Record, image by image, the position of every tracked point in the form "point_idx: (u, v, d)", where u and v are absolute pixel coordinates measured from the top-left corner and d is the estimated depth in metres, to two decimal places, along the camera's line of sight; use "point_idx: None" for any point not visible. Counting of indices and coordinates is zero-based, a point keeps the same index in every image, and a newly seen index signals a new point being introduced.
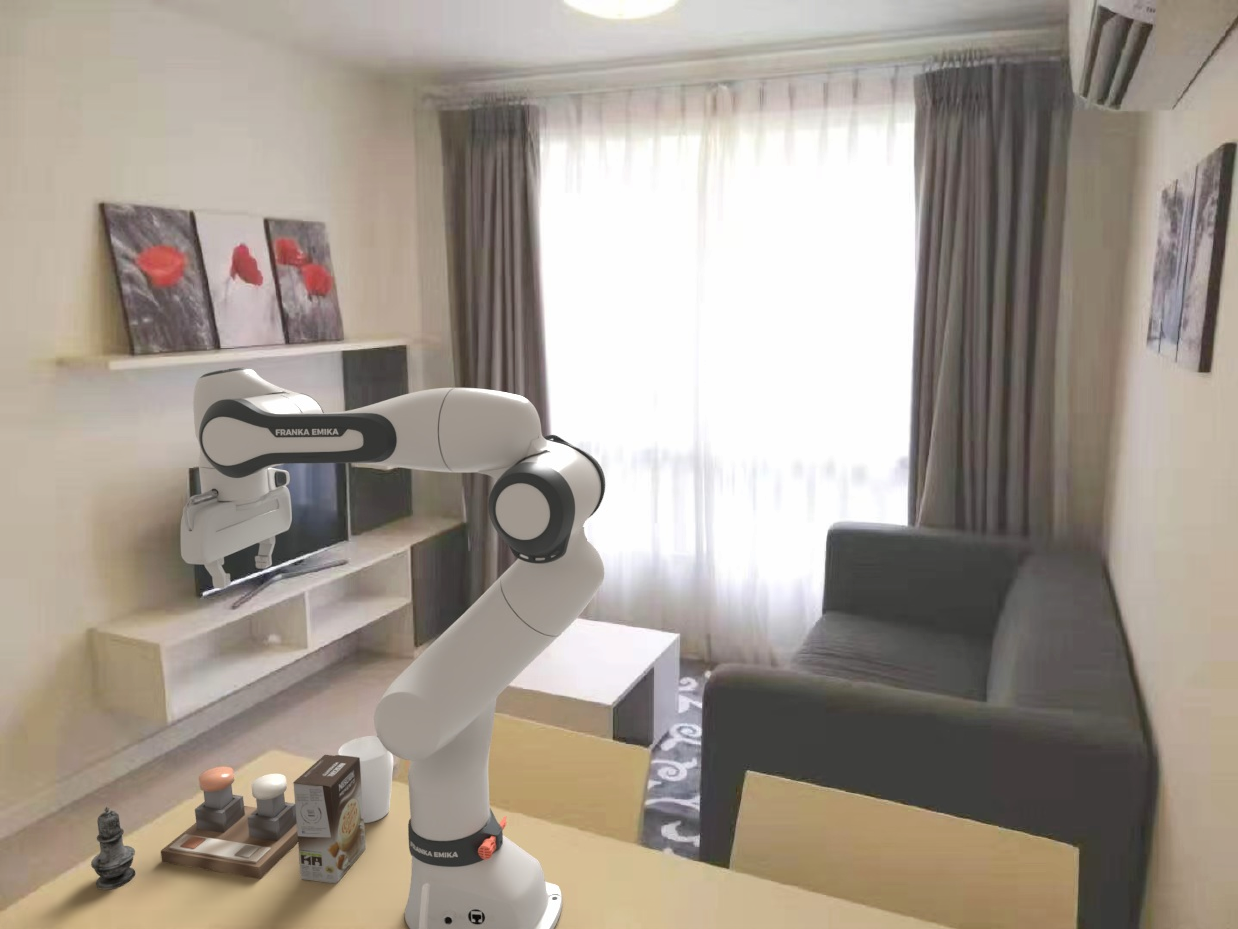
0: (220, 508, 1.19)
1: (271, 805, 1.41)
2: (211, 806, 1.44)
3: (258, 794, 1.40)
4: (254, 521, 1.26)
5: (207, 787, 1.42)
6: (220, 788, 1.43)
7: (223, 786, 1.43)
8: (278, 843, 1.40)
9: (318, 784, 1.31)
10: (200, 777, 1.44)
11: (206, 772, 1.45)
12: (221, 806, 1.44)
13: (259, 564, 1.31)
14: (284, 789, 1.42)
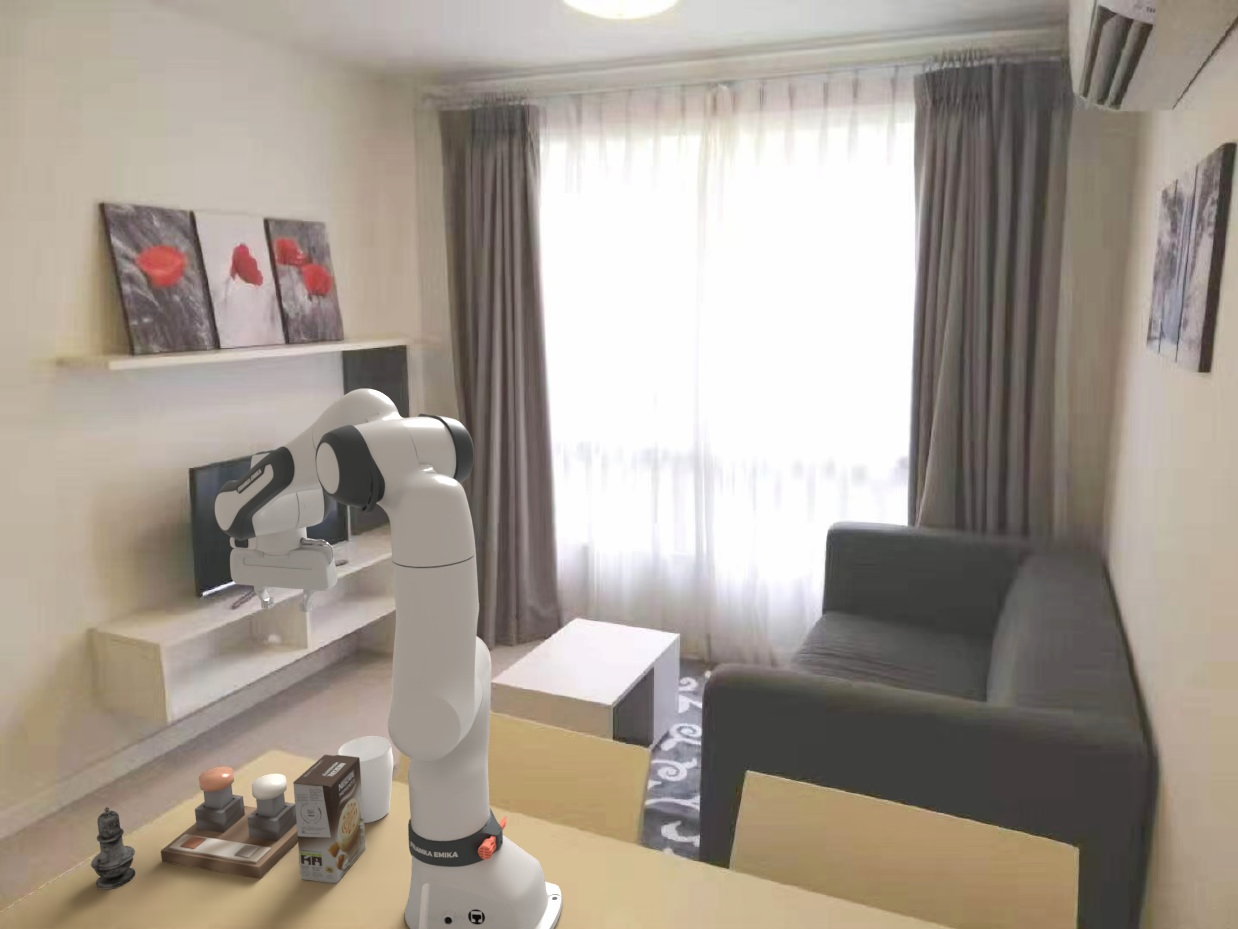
0: None
1: (271, 805, 1.41)
2: (211, 806, 1.44)
3: (258, 794, 1.40)
4: None
5: (207, 787, 1.42)
6: (220, 788, 1.43)
7: (223, 786, 1.43)
8: (278, 843, 1.40)
9: (318, 784, 1.31)
10: (200, 777, 1.44)
11: (206, 772, 1.45)
12: (221, 806, 1.44)
13: (269, 605, 1.62)
14: (284, 789, 1.42)
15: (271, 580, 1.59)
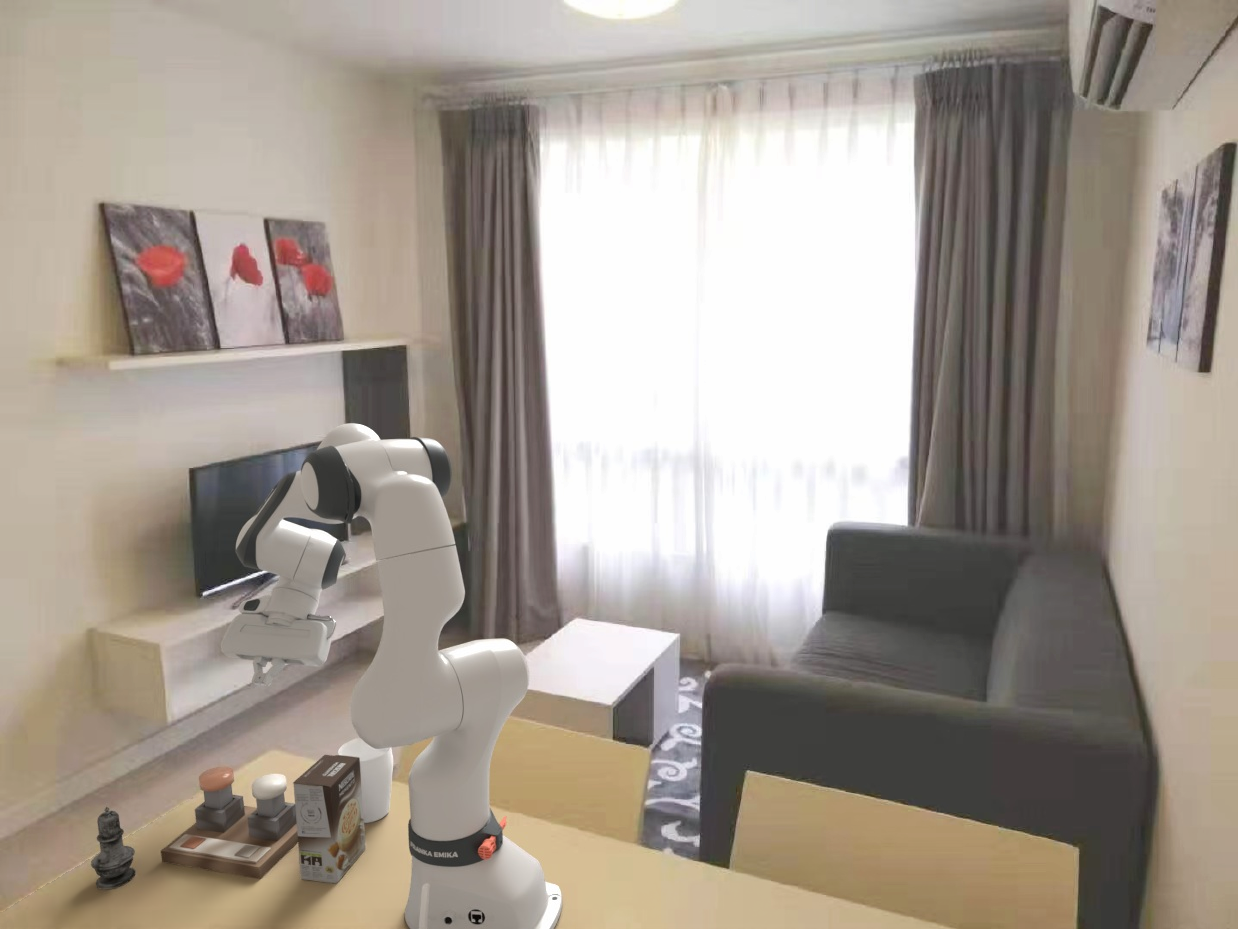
0: None
1: (271, 805, 1.41)
2: (211, 806, 1.44)
3: (258, 794, 1.40)
4: None
5: (207, 787, 1.42)
6: (220, 788, 1.43)
7: (223, 786, 1.43)
8: (278, 843, 1.40)
9: (318, 784, 1.31)
10: (200, 777, 1.44)
11: (206, 772, 1.45)
12: (221, 806, 1.44)
13: None
14: (284, 789, 1.42)
15: (261, 647, 1.57)
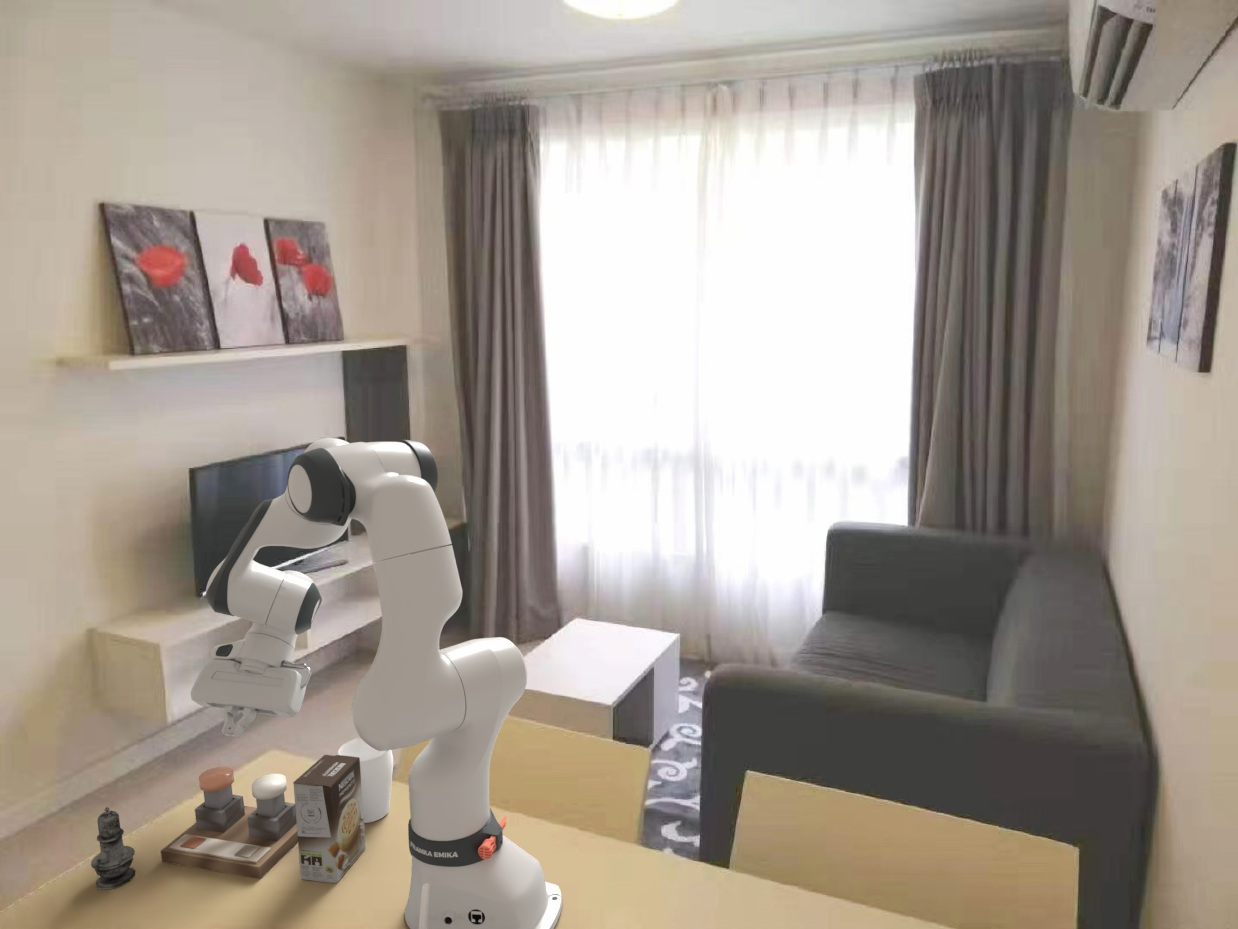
0: None
1: (271, 805, 1.41)
2: (211, 806, 1.44)
3: (258, 794, 1.40)
4: None
5: (207, 787, 1.42)
6: (220, 788, 1.43)
7: (223, 786, 1.43)
8: (278, 843, 1.40)
9: (318, 784, 1.31)
10: (200, 777, 1.44)
11: (206, 772, 1.45)
12: (221, 806, 1.44)
13: None
14: (284, 789, 1.42)
15: (232, 696, 1.51)
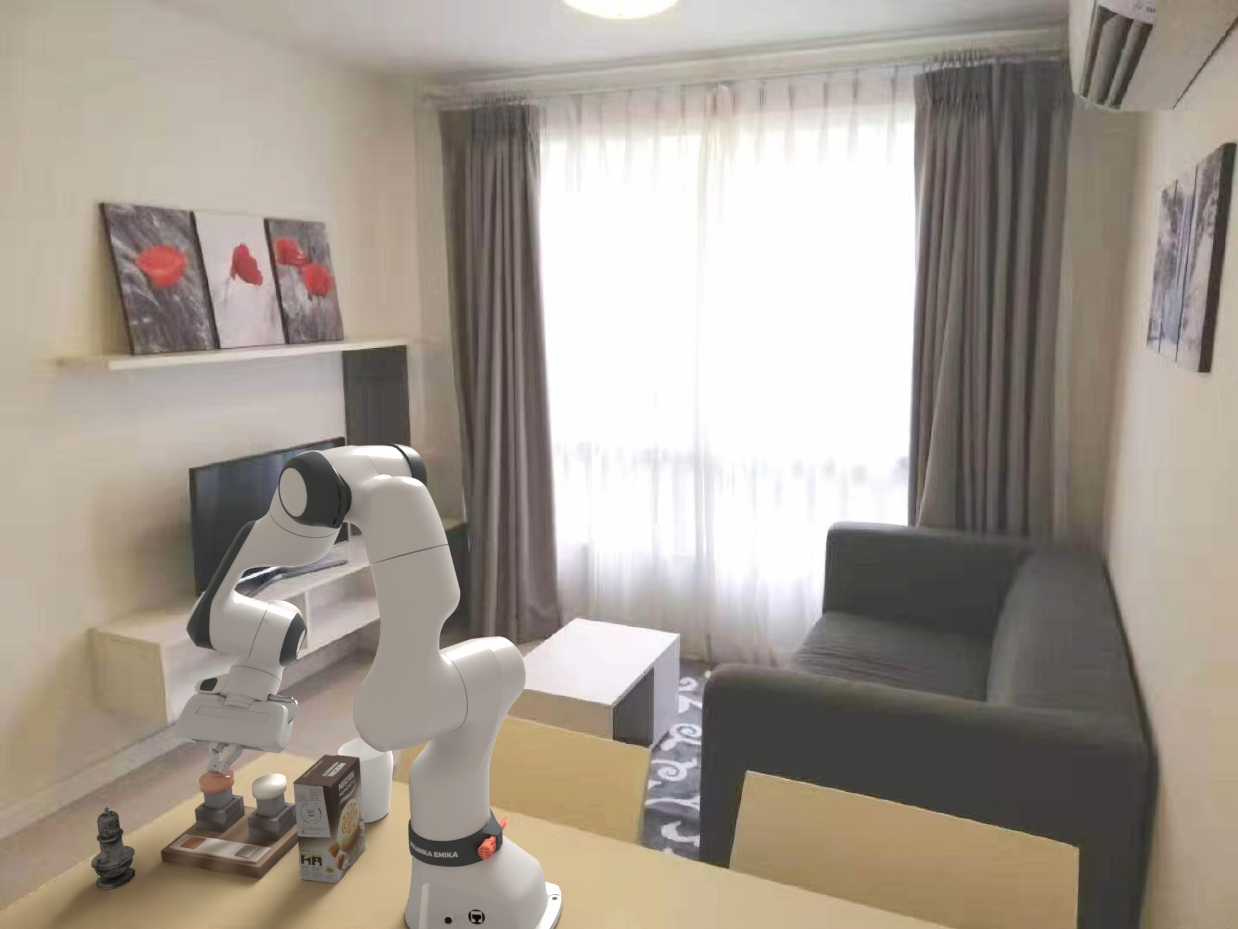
0: None
1: (271, 805, 1.41)
2: (211, 808, 1.44)
3: (258, 794, 1.40)
4: None
5: (207, 789, 1.42)
6: (220, 790, 1.43)
7: (223, 788, 1.43)
8: (278, 843, 1.40)
9: (318, 784, 1.31)
10: (200, 779, 1.44)
11: (206, 774, 1.45)
12: (221, 808, 1.44)
13: None
14: (284, 789, 1.42)
15: (217, 732, 1.47)
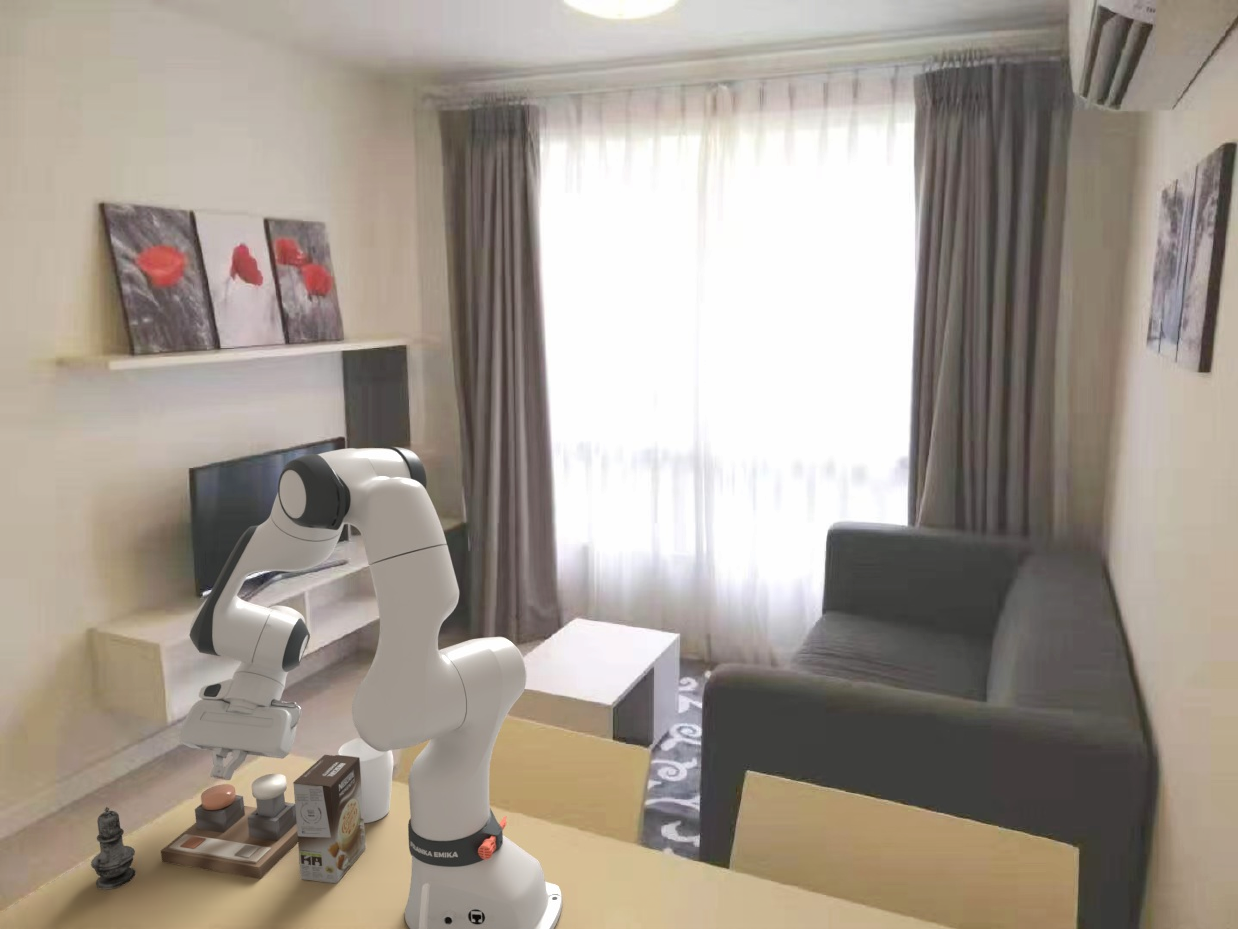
0: None
1: (271, 805, 1.41)
2: None
3: (258, 794, 1.40)
4: None
5: (209, 806, 1.43)
6: (222, 806, 1.43)
7: (225, 804, 1.43)
8: (278, 843, 1.40)
9: (318, 784, 1.31)
10: (202, 795, 1.44)
11: (208, 790, 1.46)
12: None
13: None
14: (284, 789, 1.42)
15: (221, 738, 1.47)
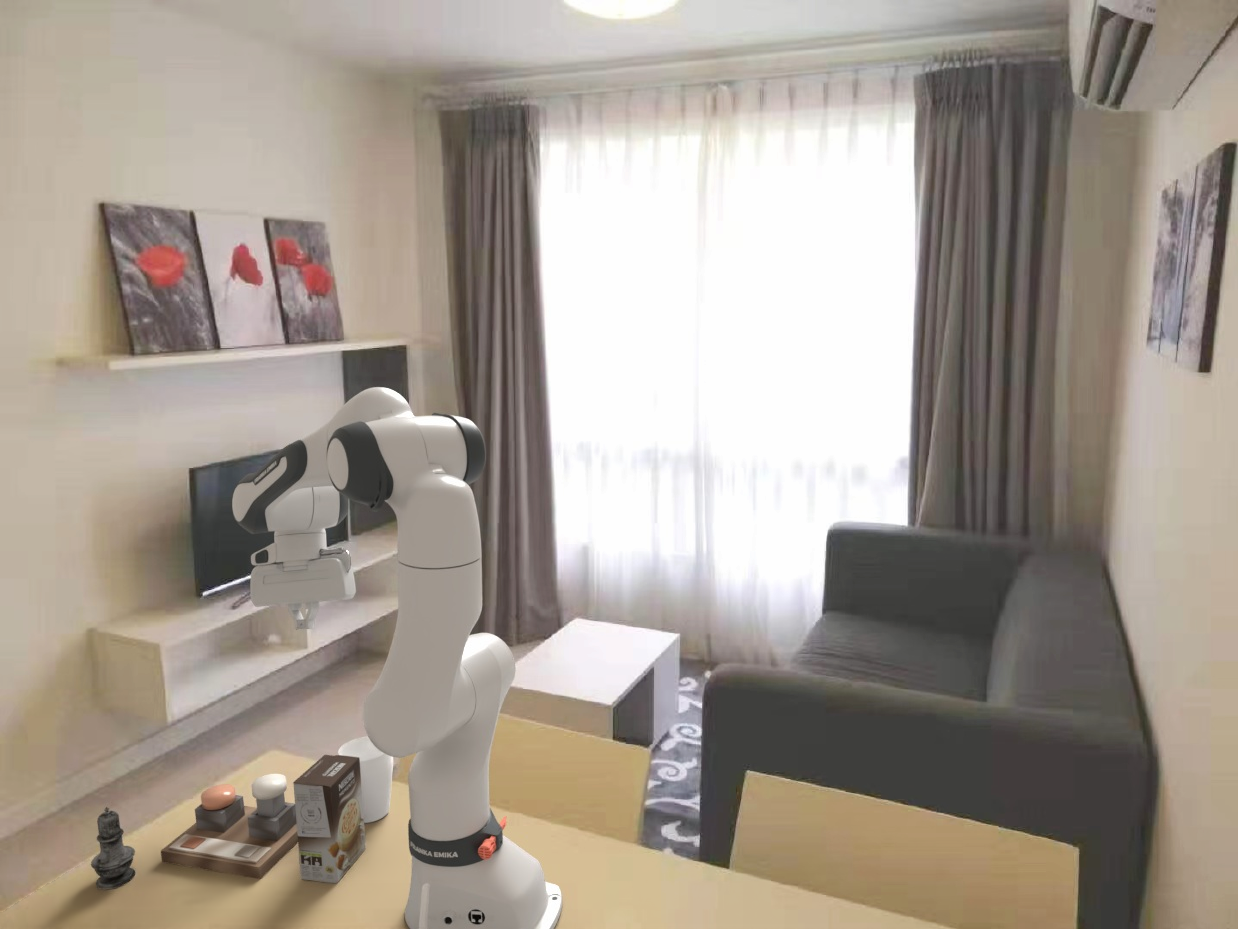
0: None
1: (271, 805, 1.41)
2: None
3: (258, 794, 1.40)
4: None
5: (209, 806, 1.43)
6: (222, 806, 1.43)
7: (225, 804, 1.43)
8: (278, 843, 1.40)
9: (318, 784, 1.31)
10: (202, 795, 1.44)
11: (208, 790, 1.46)
12: None
13: None
14: (284, 789, 1.42)
15: (289, 596, 1.56)
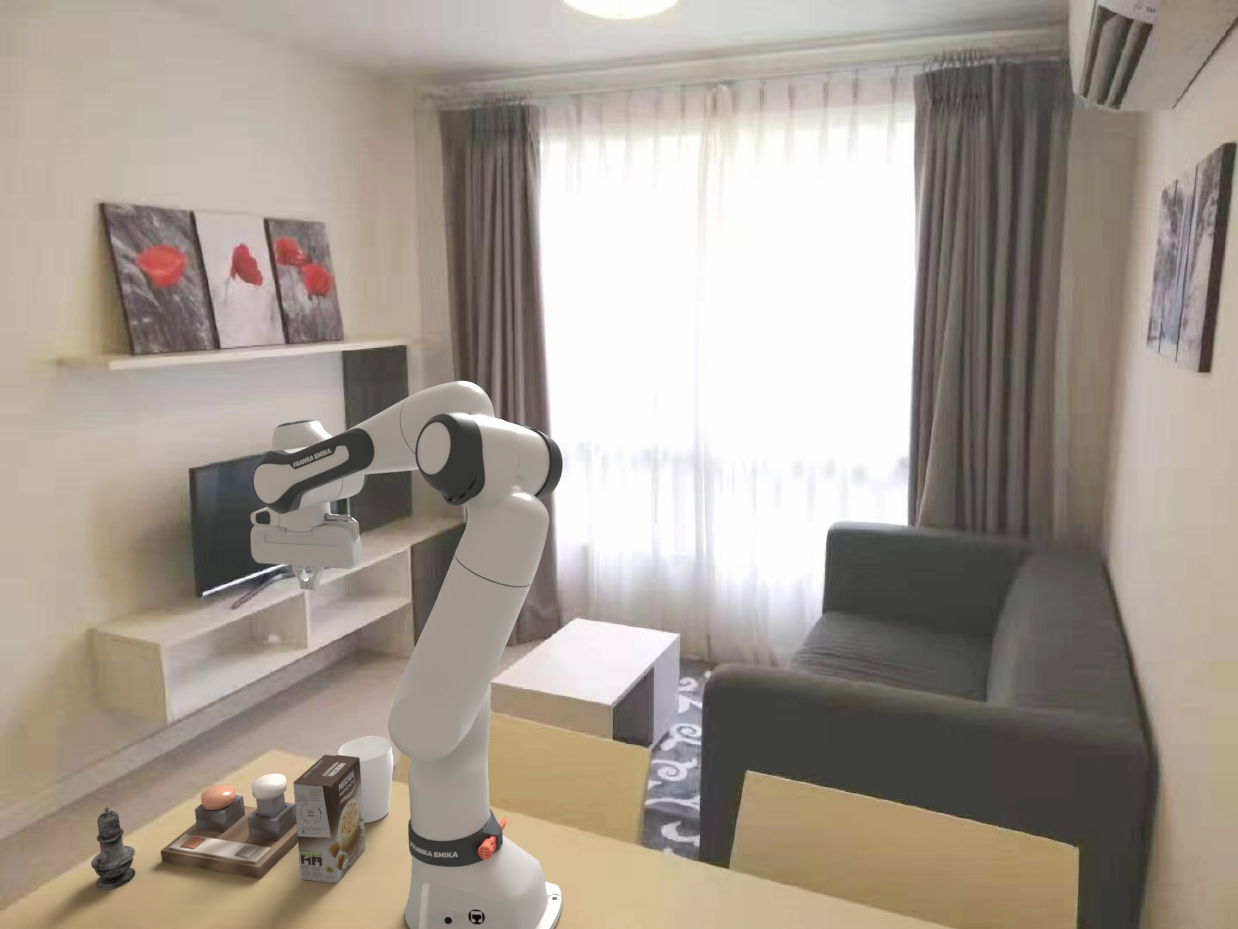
0: None
1: (271, 805, 1.41)
2: None
3: (258, 794, 1.40)
4: None
5: (209, 806, 1.43)
6: (222, 806, 1.43)
7: (225, 804, 1.43)
8: (278, 843, 1.40)
9: (318, 784, 1.31)
10: (202, 795, 1.44)
11: (208, 790, 1.46)
12: None
13: None
14: (284, 789, 1.42)
15: (294, 558, 1.52)
